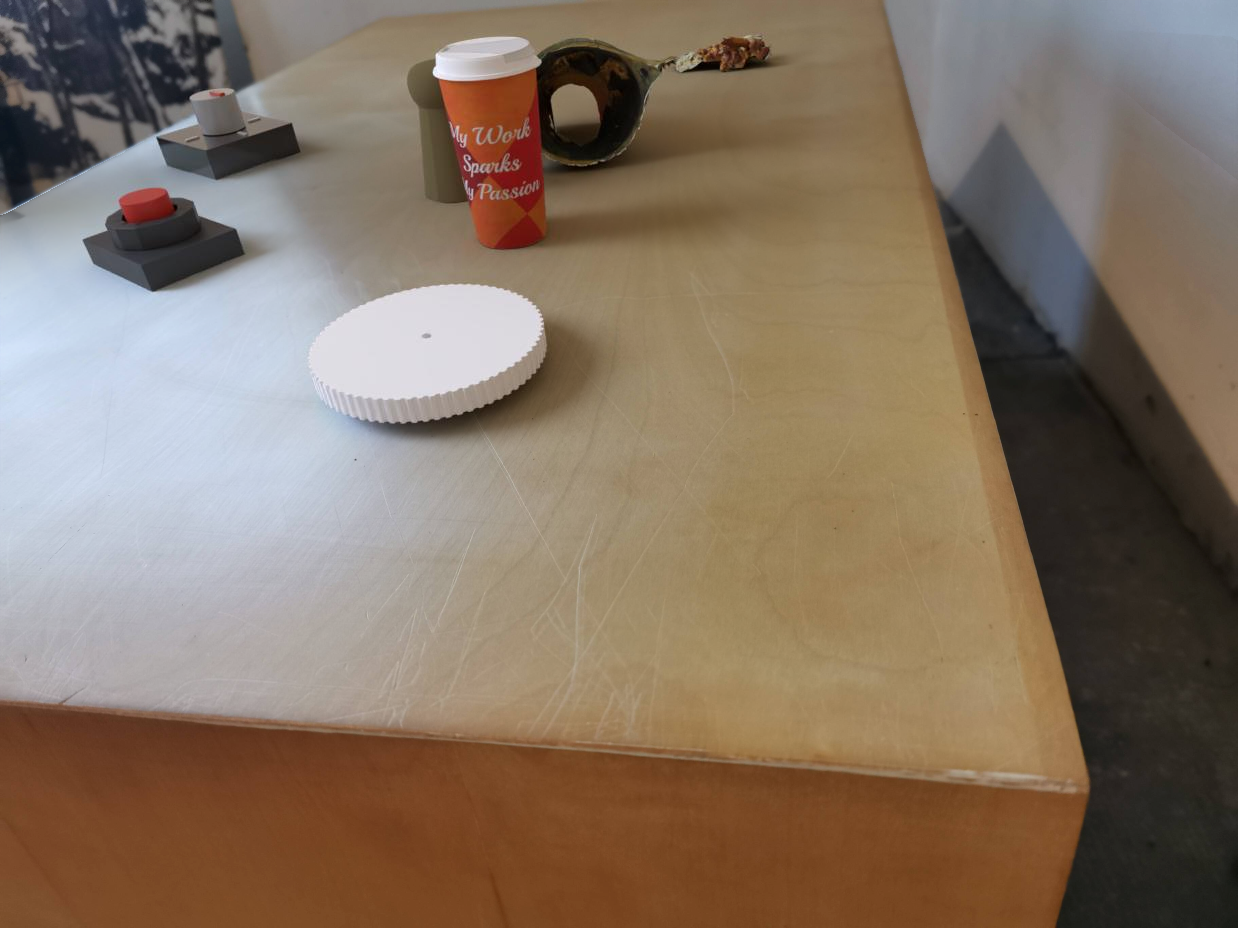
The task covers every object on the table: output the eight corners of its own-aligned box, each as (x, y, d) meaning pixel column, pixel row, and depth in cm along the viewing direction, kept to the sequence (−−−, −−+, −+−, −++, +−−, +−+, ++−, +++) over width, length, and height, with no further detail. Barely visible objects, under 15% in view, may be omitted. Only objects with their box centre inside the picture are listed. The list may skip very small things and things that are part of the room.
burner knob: (193, 132, 90) (179, 94, 88) (231, 121, 93) (218, 83, 90) (215, 138, 88) (202, 98, 85) (253, 126, 90) (241, 87, 88)
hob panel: (166, 165, 92) (154, 135, 90) (249, 139, 98) (240, 110, 96) (216, 180, 86) (204, 148, 84) (300, 151, 92) (291, 121, 90)
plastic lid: (591, 380, 51) (587, 342, 49) (365, 470, 45) (353, 430, 44) (488, 298, 61) (482, 265, 59) (291, 364, 55) (279, 329, 54)
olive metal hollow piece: (631, 20, 90) (651, -16, 73) (675, 125, 94) (703, 114, 77) (484, 96, 91) (470, 78, 74) (533, 196, 95) (531, 201, 78)
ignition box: (93, 264, 71) (71, 217, 69) (183, 231, 76) (165, 186, 73) (152, 292, 66) (130, 242, 63) (245, 254, 70) (228, 207, 68)
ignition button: (119, 220, 68) (109, 199, 67) (161, 205, 70) (153, 184, 69) (140, 229, 66) (131, 207, 65) (184, 213, 69) (175, 192, 68)
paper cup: (452, 254, 67) (413, 62, 59) (480, 217, 73) (449, 37, 65) (549, 255, 66) (523, 57, 57) (570, 216, 72) (549, 32, 63)
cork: (465, 174, 82) (443, 50, 76) (504, 187, 79) (484, 57, 72) (412, 193, 79) (384, 65, 72) (450, 207, 76) (424, 74, 69)
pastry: (669, 64, 111) (668, 34, 109) (760, 54, 112) (761, 24, 110) (680, 77, 106) (679, 45, 104) (776, 66, 107) (777, 34, 104)
